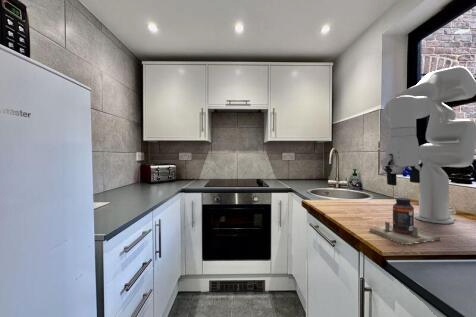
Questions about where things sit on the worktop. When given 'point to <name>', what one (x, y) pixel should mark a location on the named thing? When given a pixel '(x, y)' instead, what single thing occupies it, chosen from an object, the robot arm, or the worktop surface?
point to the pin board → (403, 234)
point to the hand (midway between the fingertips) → (403, 183)
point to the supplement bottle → (403, 216)
